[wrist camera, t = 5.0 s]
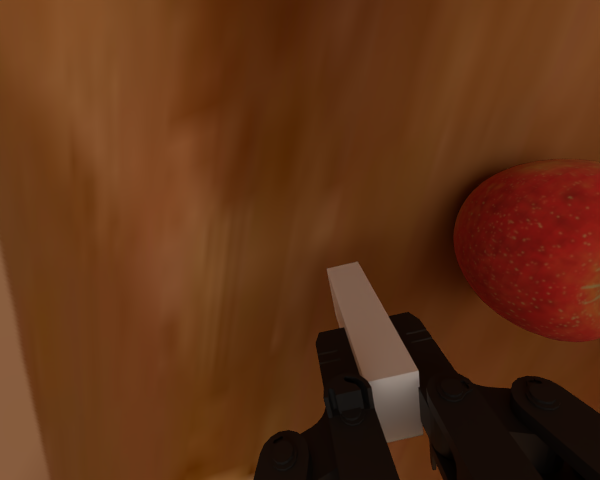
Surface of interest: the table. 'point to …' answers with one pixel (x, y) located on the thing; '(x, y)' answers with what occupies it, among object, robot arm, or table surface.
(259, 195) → the table surface
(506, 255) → the apple
